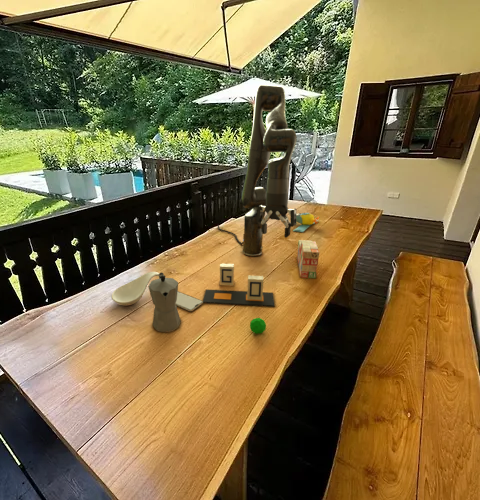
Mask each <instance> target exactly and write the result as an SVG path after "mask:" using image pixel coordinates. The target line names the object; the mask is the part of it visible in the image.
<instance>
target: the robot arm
mask: <svg viewBox="0 0 480 500" xmlns="http://www.w3.org/2000/svg"><path fill="white" fill-rule="evenodd" d="M255 91H256V92H255V98H254V109H253V110H254V111H253V122H252V130H251V137H250V143H249V149H248V158H247V165H246V166H247V167H246V173H245V177H244V181H243V185H242V186H243V187H242V191H241V204H242V206H243V207H244V208H245V209H250V210H249V211H248V212H247V213H245V215H244V217H243V218H244V220H243V221H244V223H243V239H242V241H240V240H239V239H238V236H237V234H235V233H234V232H232V231H229V230H227V229H226V230H225V229H223V228H220V225H219V224H218V225H217V229H218V230H219V231H221V232H225V233H228V234H230V235H233V236H234V237H235V240H236V242H237V243H238V244H239V245H242V252H243V254H244V256H247V257H253V258H254V257H260V256H262V255H263V248H264V246H263V235H266V234H267V233H268V223H267V222H268V221H269V220H275V221H280V222H281V223H282V224H283V225H284V238H286V239H287V238H289V236H290V235H291V229H292V228H293V227H295V226H296V225H297V222H296V214H297V208H289V207H288V204H289V192H290V191H289V190H290V188H289V187H290V180H289V176H290V164H291V159H292V156H293V153H294V150H295V147H296V144H297V139H298V138H297V137H298V136H297V134H296V131H295V130H294V129H291V128H289V127H288V122H287V119H286V92H285V89H284V86H281V85H275V84H273V85H272V84H258V87H257V88H256V90H255ZM263 112H268V113H267V115H266V118H265V123H264V120H263ZM272 153H283V154H282V155H281V157H279V158H276V159H272V160H270V157H271V154H272ZM266 167H267V181H266V188H264V187H262V186H257V187H256V185H257V182H258V180H259V178H260V176H261V175H262V174H263V172H264V171H265V169H266ZM287 214H288V215H289V217H290V220H289V217H288V216H287Z"/></svg>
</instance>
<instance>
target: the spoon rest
mask: <svg viewBox="0 0 480 500" xmlns="http://www.w3.org/2000/svg"><path fill="white" fill-rule="evenodd" d="M159 274H160V272H157V271H148V272H146V273H145V274H143V275H141V276H139V277H137V278H135V279H133V280H131V281H129V282H127V283H125V284H123V285H121V286H119V287H118V288H116V289H115V290H114V291H113V292H112V293H111V299H112V301H113V302H114V303H116V304H117V305H120V306H131V305H134V304H136V303H137V302H139V301H140V300H141V299H142V297H143V295H144V293H145V292H146V289H147V287H148V286H149V284H150V282H151V281H152V279H153V278H154V277H159Z"/></svg>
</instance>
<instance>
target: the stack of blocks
mask: <svg viewBox="0 0 480 500" xmlns="http://www.w3.org/2000/svg"><path fill="white" fill-rule="evenodd" d="M296 256H297V257H296V258H297V265H298V269H299V276H300V278H305V279H316V278H317V271H318V265H319V257H320V250H319V247H318V244H317V243H316V240H309V239H305V240H304V239H298V243H297V255H296Z"/></svg>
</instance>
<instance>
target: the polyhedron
mask: <svg viewBox="0 0 480 500" xmlns="http://www.w3.org/2000/svg"><path fill="white" fill-rule="evenodd" d="M249 329H250V330H251V332H252V333H254V334H255V335H259V334H263V333H264V332H265V331H266V329H267V324H266V321H265V320H264V319H263V318H261V317H256V318H255V317H254V318H252V320H251V321H250V322H249Z"/></svg>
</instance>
